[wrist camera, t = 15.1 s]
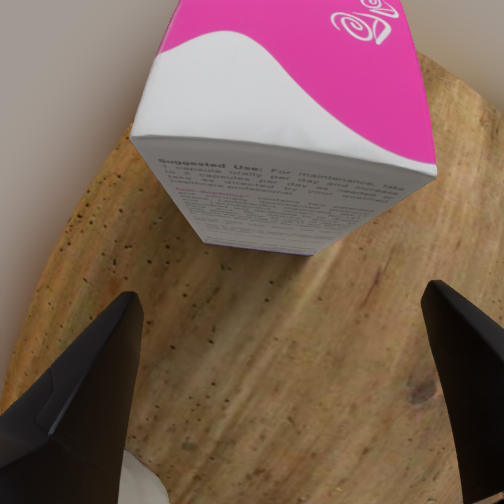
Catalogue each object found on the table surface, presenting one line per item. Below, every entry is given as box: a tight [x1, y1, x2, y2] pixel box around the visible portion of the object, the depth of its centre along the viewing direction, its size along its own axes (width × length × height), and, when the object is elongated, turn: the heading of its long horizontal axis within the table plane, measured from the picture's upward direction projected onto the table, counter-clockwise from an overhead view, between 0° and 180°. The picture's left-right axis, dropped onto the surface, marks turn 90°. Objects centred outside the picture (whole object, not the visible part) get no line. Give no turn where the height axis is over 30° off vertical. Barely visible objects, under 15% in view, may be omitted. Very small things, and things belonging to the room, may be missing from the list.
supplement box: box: [130, 0, 437, 256], centre depth 11 cm, size 6×6×12 cm
